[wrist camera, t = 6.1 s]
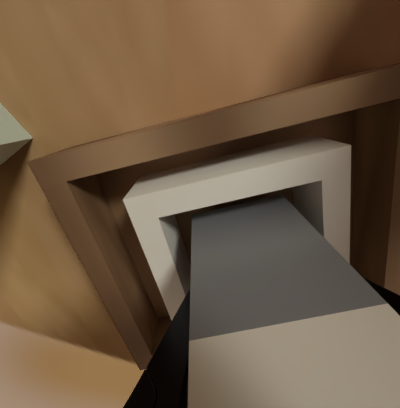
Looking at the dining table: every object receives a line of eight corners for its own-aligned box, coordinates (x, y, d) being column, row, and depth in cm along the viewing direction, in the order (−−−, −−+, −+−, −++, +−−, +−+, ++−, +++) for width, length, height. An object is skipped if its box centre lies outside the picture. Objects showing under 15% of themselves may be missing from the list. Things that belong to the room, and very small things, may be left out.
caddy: (370, 68, 10) (437, 55, 7) (361, 281, 15) (400, 322, 12) (68, 147, 11) (27, 162, 8) (149, 323, 16) (139, 370, 13)
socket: (309, 134, 10) (351, 145, 8) (317, 272, 14) (348, 315, 11) (140, 175, 11) (122, 199, 8) (184, 299, 14) (182, 346, 11)
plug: (281, 194, 10) (520, 439, 3) (289, 267, 12) (454, 548, 4) (192, 215, 10) (186, 485, 3) (211, 283, 12) (238, 572, 5)
